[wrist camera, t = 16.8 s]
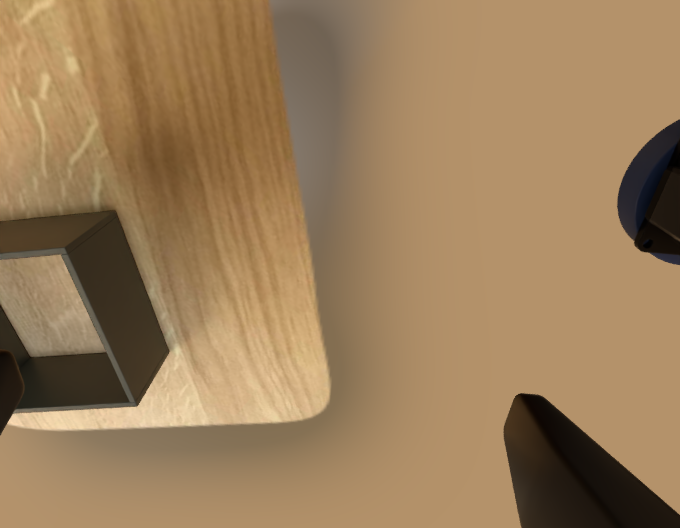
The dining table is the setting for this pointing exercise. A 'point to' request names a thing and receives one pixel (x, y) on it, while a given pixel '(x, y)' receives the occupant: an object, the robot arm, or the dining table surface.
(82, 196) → the dining table surface
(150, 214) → the dining table surface
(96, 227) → the dark grey square tray
